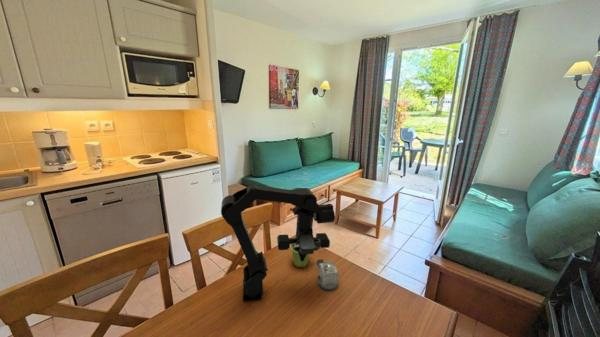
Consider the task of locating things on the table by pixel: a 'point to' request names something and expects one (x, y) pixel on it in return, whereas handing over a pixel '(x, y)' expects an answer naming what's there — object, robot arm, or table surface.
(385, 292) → the table surface
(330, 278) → the block with round boss
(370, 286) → the table surface
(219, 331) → the table surface
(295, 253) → the plant pot
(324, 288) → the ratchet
